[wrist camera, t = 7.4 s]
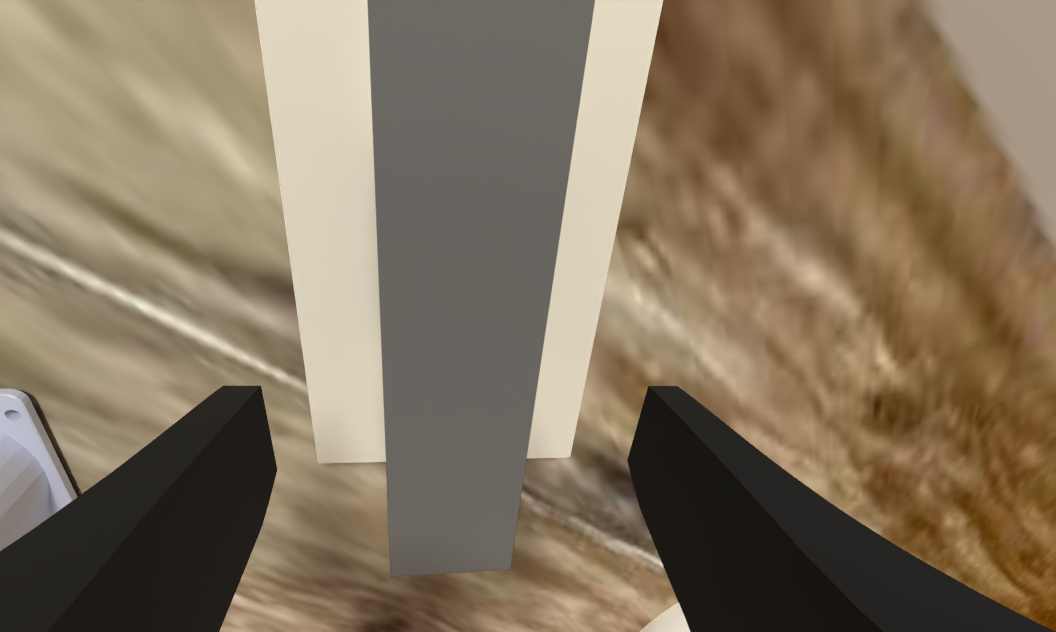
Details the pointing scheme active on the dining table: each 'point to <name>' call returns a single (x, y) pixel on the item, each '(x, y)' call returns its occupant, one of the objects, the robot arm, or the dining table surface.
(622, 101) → the plate
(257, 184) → the dining table surface
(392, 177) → the matte grey box
